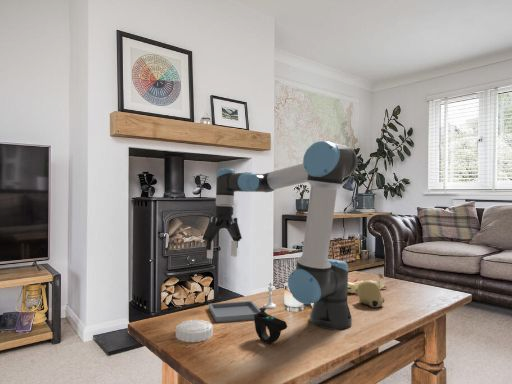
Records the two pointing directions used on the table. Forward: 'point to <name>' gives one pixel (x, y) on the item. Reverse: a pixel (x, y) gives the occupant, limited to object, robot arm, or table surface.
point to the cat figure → (355, 284)
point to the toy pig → (369, 293)
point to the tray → (233, 311)
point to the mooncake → (194, 331)
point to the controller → (268, 326)
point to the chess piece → (270, 299)
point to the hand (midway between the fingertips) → (222, 257)
